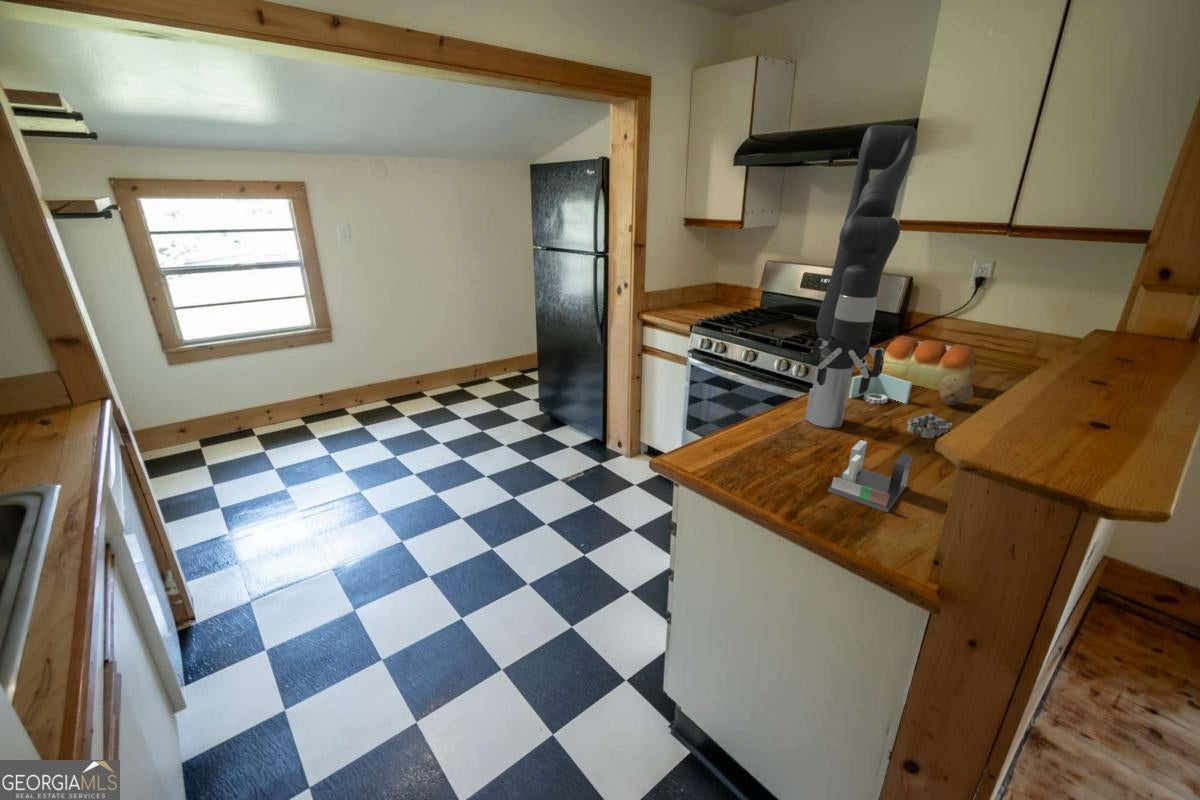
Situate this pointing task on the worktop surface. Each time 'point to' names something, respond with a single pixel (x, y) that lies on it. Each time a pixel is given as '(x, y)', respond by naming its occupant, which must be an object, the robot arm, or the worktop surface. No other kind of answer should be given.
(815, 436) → the worktop surface
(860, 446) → the block
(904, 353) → the bread
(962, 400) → the natural sponge
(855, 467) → the bar
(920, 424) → the jagged gray rock
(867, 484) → the stand
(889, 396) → the l-shaped corner panel
